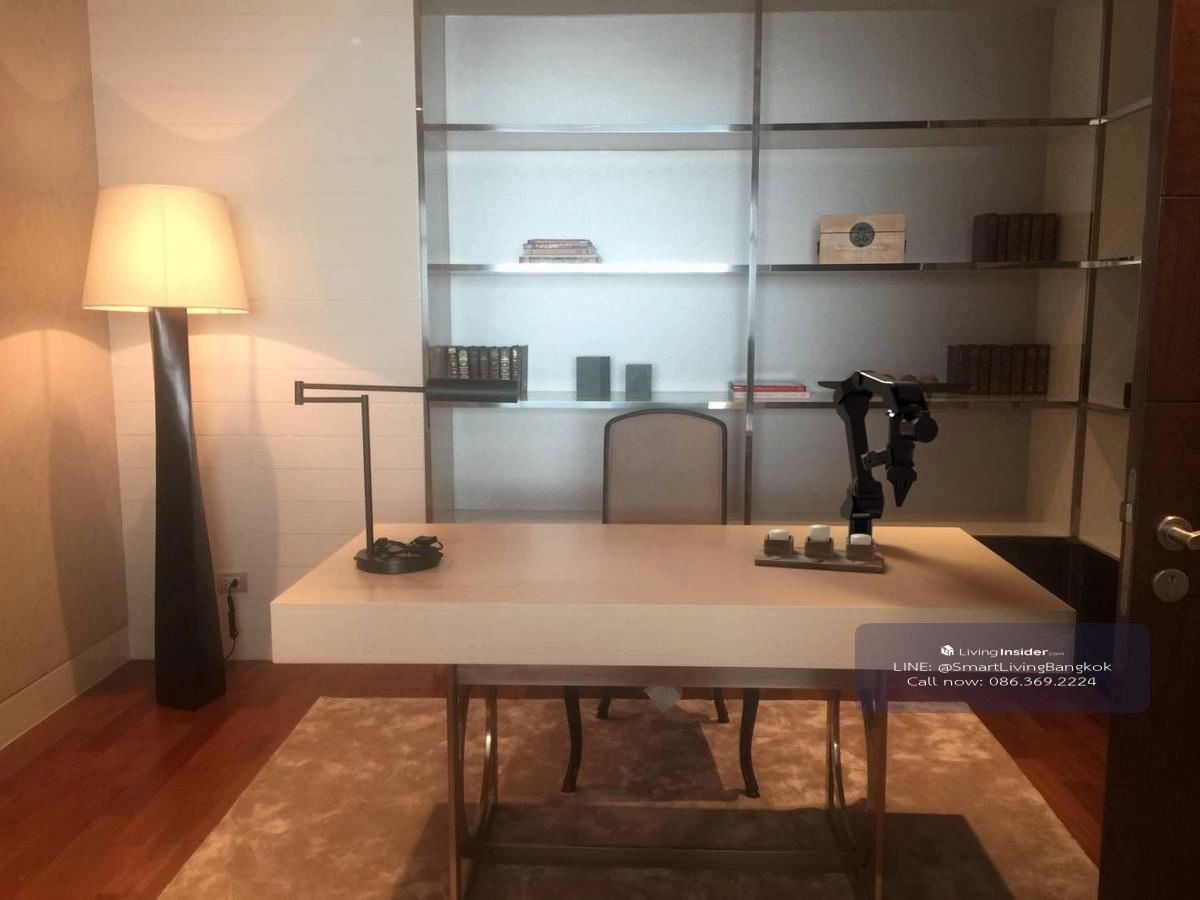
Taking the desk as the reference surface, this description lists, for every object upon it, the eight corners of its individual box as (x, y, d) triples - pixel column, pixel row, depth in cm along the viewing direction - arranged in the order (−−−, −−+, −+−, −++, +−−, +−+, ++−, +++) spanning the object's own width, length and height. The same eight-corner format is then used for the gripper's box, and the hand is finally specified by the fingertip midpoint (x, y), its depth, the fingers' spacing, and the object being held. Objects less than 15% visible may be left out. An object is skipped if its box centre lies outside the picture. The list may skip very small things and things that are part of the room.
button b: (809, 541, 215) (810, 524, 215) (829, 542, 214) (830, 525, 214) (808, 545, 211) (809, 528, 211) (829, 546, 210) (829, 529, 210)
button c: (770, 545, 218) (770, 528, 218) (789, 547, 217) (789, 530, 216) (768, 550, 214) (768, 532, 213) (787, 551, 213) (788, 533, 212)
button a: (850, 550, 213) (850, 533, 213) (870, 552, 212) (871, 534, 212) (850, 555, 209) (850, 537, 209) (870, 556, 208) (871, 538, 207)
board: (761, 549, 222) (761, 531, 222) (880, 556, 215) (881, 537, 215) (754, 564, 208) (755, 544, 208) (881, 572, 201) (882, 552, 201)
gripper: (863, 432, 221) (861, 498, 223) (864, 441, 203) (861, 512, 205) (913, 434, 218) (910, 500, 220) (918, 443, 200) (915, 515, 202)
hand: (898, 506), depth 212 cm, fingers closed
